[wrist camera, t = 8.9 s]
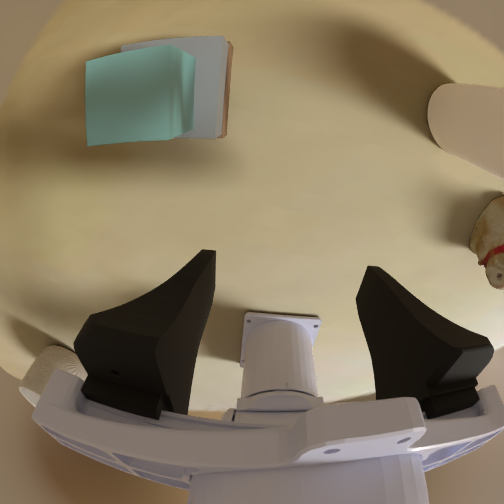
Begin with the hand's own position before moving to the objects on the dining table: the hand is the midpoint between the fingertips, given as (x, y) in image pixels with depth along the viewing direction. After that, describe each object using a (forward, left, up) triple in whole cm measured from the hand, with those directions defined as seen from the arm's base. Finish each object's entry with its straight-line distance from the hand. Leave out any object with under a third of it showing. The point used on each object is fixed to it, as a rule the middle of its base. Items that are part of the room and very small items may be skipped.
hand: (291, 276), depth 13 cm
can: (+10, -14, -11) cm, 20 cm away
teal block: (+8, +8, -6) cm, 13 cm away
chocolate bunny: (+1, -23, -11) cm, 25 cm away
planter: (-31, +31, -11) cm, 45 cm away
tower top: (+8, +8, -8) cm, 14 cm away
